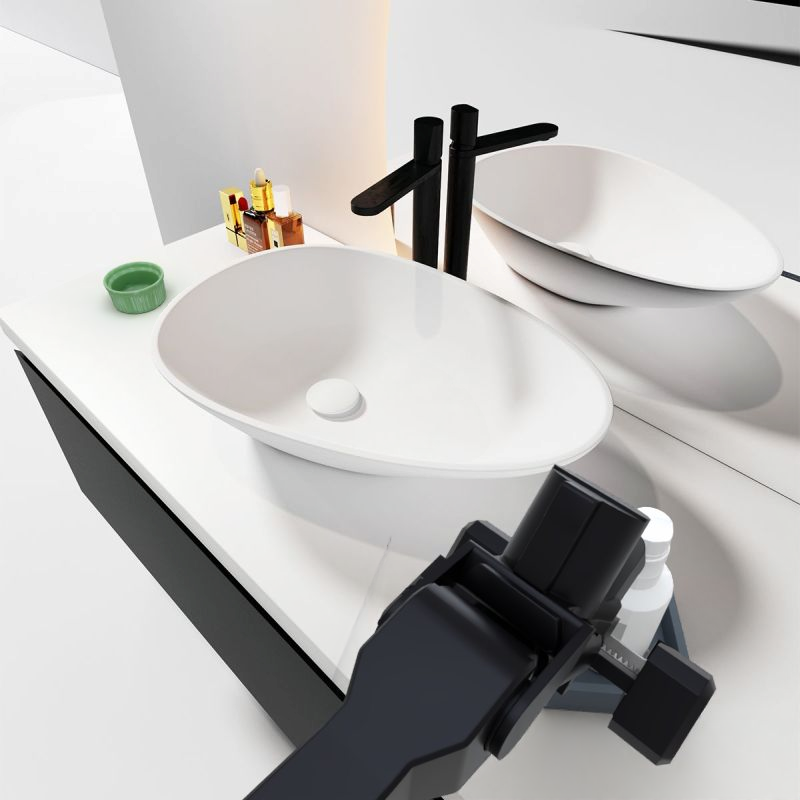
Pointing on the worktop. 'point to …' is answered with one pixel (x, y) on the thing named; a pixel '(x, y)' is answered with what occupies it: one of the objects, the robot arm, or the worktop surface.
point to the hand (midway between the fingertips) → (593, 618)
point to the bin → (601, 693)
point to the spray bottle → (647, 588)
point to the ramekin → (136, 286)
